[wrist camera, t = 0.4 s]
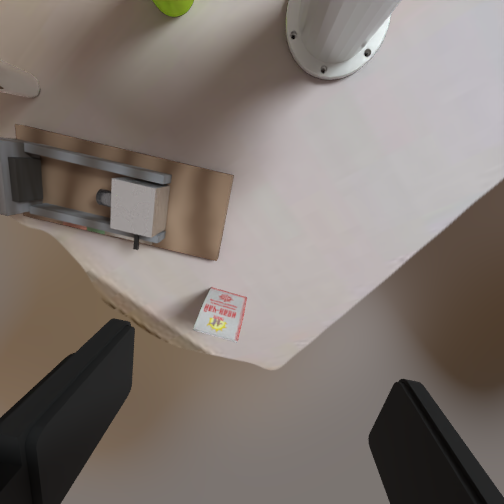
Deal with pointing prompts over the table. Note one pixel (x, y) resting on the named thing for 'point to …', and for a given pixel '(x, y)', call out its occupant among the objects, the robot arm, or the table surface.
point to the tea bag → (221, 315)
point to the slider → (136, 206)
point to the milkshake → (17, 81)
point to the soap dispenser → (173, 6)
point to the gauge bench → (100, 177)
